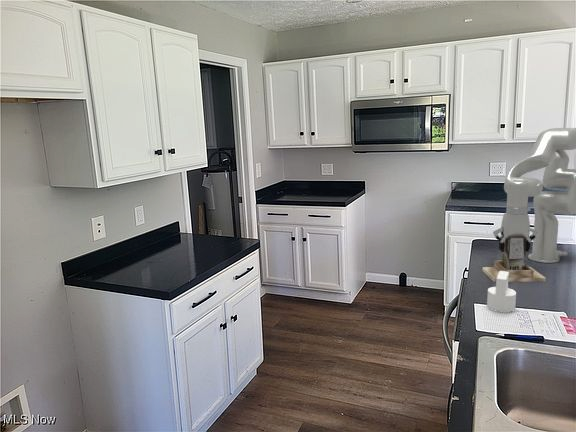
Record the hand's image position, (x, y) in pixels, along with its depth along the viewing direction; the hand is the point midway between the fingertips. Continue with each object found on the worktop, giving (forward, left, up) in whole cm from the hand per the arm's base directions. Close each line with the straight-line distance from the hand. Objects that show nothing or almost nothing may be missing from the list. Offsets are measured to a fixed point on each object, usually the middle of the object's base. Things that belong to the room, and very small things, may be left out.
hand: (514, 251), depth 183 cm
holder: (0, 0, -11) cm, 11 cm away
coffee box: (0, 0, -10) cm, 10 cm away
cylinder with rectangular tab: (+16, +32, -11) cm, 37 cm away
